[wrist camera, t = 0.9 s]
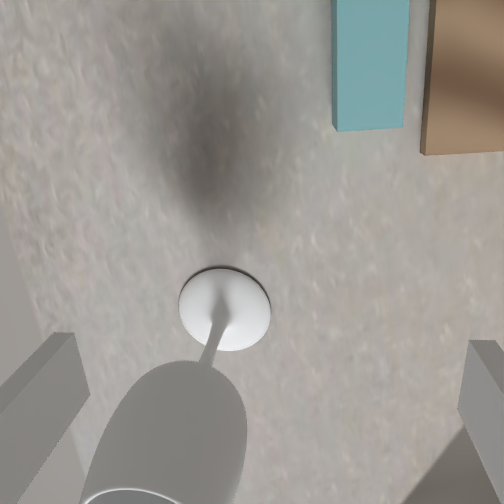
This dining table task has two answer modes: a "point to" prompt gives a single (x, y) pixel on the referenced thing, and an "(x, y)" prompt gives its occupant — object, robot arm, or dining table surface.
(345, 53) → the link
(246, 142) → the dining table surface
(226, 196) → the dining table surface
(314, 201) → the dining table surface
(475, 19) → the board
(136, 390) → the wineglass
